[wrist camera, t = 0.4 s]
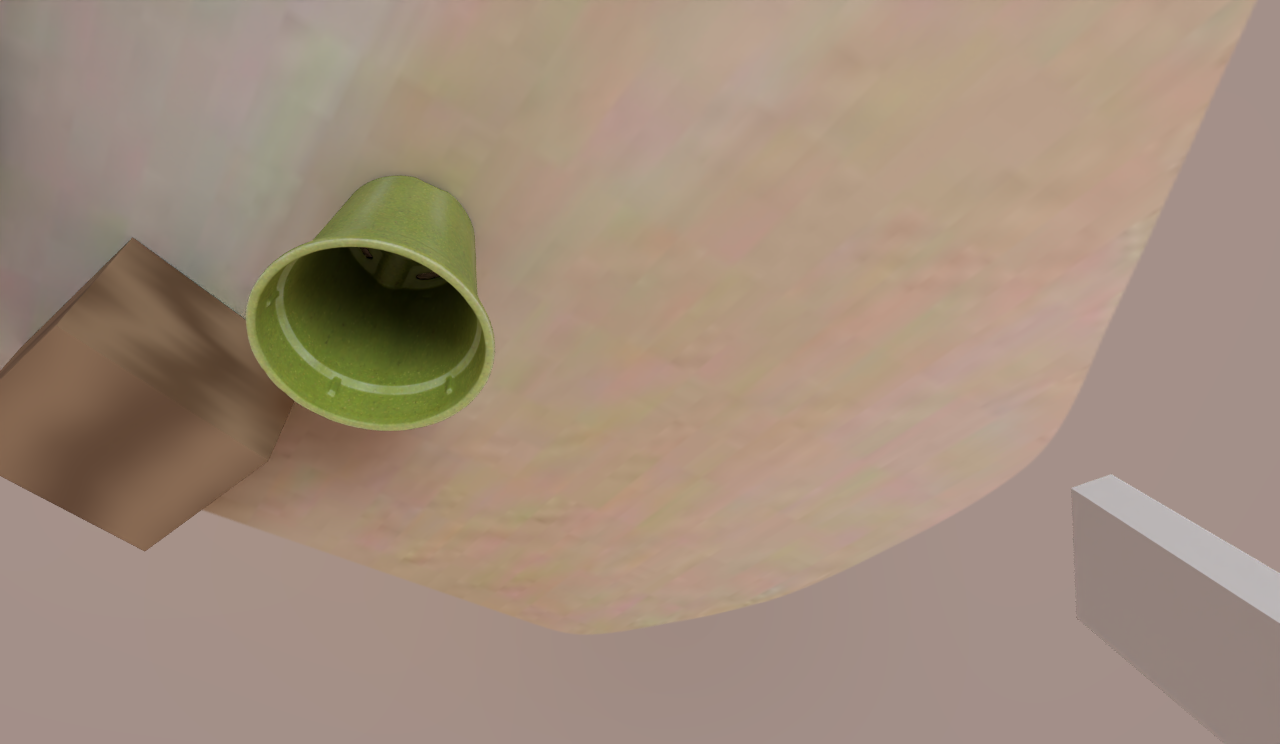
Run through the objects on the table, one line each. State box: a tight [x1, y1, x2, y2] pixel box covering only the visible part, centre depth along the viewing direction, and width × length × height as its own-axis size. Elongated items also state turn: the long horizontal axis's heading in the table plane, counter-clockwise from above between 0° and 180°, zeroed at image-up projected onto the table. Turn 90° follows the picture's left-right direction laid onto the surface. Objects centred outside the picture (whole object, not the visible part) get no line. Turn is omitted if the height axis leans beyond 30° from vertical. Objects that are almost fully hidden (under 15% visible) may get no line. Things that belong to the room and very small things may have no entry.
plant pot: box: [246, 176, 495, 431], centre depth 35 cm, size 9×9×9 cm
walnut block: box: [0, 238, 294, 551], centre depth 40 cm, size 10×10×7 cm
